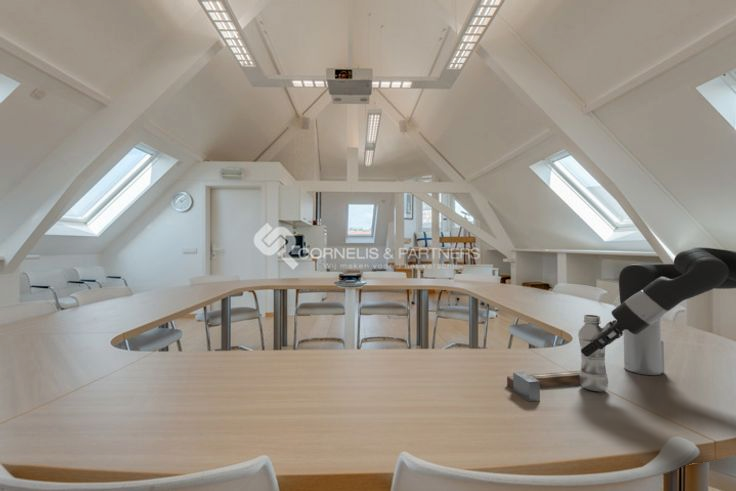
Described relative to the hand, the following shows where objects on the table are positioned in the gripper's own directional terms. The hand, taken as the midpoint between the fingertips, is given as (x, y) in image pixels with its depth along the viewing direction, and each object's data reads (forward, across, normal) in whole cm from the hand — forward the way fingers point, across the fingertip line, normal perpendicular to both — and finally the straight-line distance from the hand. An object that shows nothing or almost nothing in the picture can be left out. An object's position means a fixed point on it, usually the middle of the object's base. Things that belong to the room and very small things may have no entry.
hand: (585, 350), depth 97 cm
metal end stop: (+15, -15, +1) cm, 22 cm away
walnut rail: (+12, -1, -2) cm, 13 cm away
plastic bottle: (+6, 0, -9) cm, 11 cm away
